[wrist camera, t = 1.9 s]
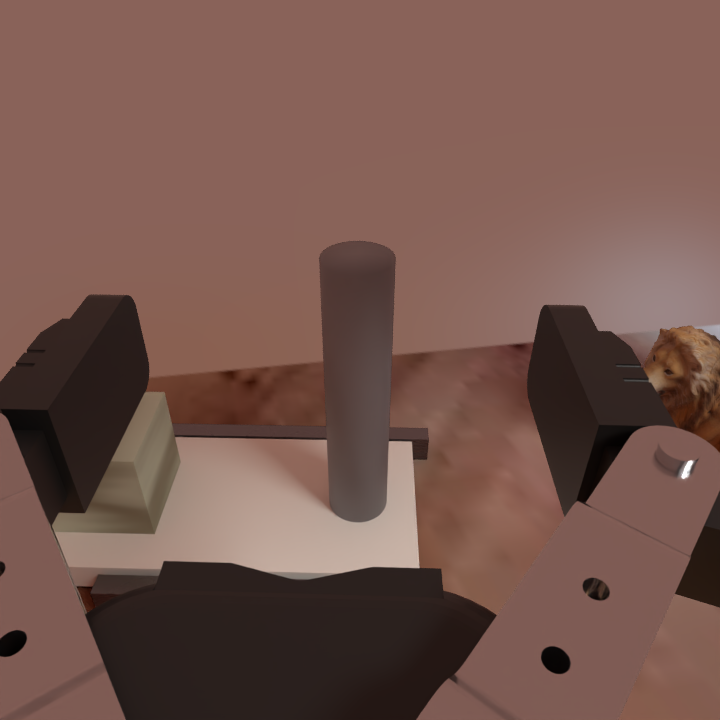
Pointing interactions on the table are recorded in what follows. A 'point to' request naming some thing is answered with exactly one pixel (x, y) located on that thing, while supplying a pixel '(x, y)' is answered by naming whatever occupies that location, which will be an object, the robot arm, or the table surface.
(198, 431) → the guide rails
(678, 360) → the lion figurine
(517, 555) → the table surface
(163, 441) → the block
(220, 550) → the base with upright peg
